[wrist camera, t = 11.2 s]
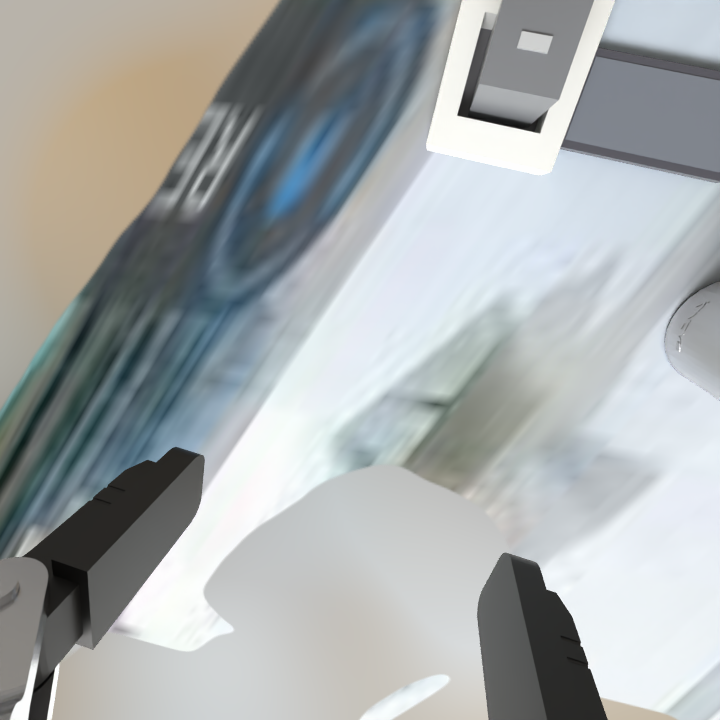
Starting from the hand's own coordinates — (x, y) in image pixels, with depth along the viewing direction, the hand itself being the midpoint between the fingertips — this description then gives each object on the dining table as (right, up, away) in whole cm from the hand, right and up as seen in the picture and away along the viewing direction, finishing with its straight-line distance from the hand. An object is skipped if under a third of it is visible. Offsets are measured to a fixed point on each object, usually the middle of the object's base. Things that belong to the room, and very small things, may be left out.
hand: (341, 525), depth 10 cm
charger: (+11, +24, +18) cm, 32 cm away
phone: (+21, +22, +17) cm, 35 cm away
